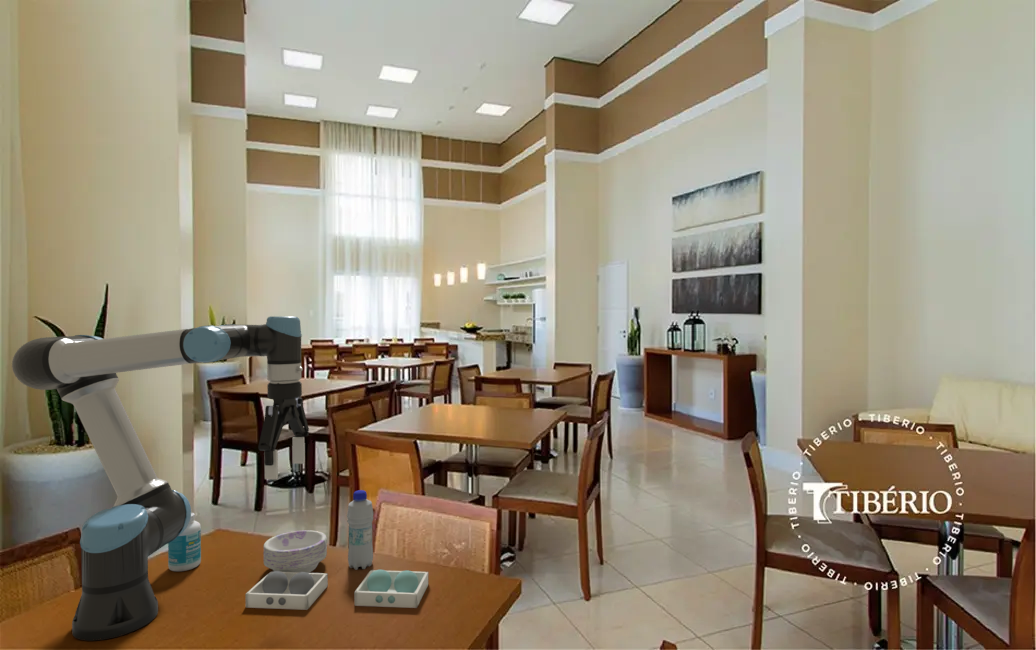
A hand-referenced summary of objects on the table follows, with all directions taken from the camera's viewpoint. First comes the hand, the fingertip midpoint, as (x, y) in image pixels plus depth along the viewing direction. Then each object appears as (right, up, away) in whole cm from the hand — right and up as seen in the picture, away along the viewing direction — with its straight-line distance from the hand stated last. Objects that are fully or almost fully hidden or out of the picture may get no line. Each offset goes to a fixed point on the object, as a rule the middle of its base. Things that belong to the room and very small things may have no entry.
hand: (285, 470), depth 137 cm
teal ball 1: (+23, -28, -2) cm, 36 cm away
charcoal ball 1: (-1, -28, -3) cm, 28 cm away
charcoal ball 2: (+5, -28, -3) cm, 29 cm away
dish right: (+26, -29, -2) cm, 39 cm away
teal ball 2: (+29, -28, -3) cm, 41 cm away
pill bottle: (-32, -29, +14) cm, 45 cm away
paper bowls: (-2, -29, +12) cm, 31 cm away
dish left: (+2, -29, -3) cm, 29 cm away
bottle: (+14, -29, +14) cm, 35 cm away
